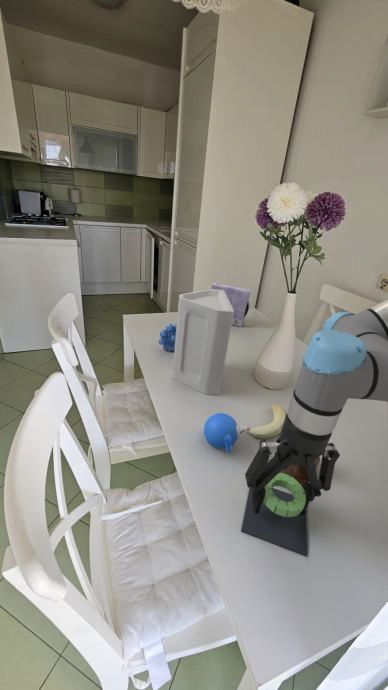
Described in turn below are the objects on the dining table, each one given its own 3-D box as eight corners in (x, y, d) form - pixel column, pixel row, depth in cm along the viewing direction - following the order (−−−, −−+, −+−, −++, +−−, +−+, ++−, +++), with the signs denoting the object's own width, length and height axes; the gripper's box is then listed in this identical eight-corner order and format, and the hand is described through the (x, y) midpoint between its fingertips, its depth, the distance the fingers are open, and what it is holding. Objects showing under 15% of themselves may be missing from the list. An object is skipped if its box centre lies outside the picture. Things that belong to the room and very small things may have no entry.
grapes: (187, 346, 122) (190, 319, 116) (188, 355, 116) (191, 326, 110) (158, 344, 120) (160, 316, 115) (157, 353, 114) (159, 324, 109)
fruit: (294, 420, 88) (297, 411, 87) (269, 447, 78) (272, 437, 76) (272, 408, 92) (274, 399, 91) (245, 432, 82) (248, 423, 80)
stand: (324, 463, 75) (338, 430, 70) (327, 501, 66) (344, 466, 60) (279, 449, 78) (290, 416, 72) (275, 484, 68) (287, 448, 63)
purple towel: (245, 324, 148) (252, 289, 140) (244, 328, 144) (251, 292, 135) (208, 316, 152) (212, 281, 144) (205, 319, 148) (210, 284, 140)
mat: (305, 500, 65) (306, 499, 65) (305, 556, 55) (306, 555, 55) (250, 481, 68) (250, 480, 68) (240, 531, 58) (241, 530, 58)
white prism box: (172, 361, 111) (178, 286, 98) (212, 363, 112) (223, 290, 99) (172, 393, 94) (180, 308, 81) (219, 395, 95) (234, 311, 82)
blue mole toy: (255, 459, 74) (262, 433, 70) (208, 463, 71) (213, 437, 67) (239, 424, 84) (244, 400, 80) (197, 427, 81) (201, 402, 78)
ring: (303, 486, 62) (305, 480, 61) (303, 523, 55) (305, 517, 54) (263, 473, 63) (264, 467, 63) (257, 507, 56) (259, 501, 56)
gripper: (359, 410, 54) (321, 493, 65) (242, 402, 53) (223, 488, 63) (383, 441, 48) (336, 528, 58) (250, 433, 46) (227, 524, 56)
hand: (277, 507), depth 61 cm, fingers closed on ring, 8 cm apart
